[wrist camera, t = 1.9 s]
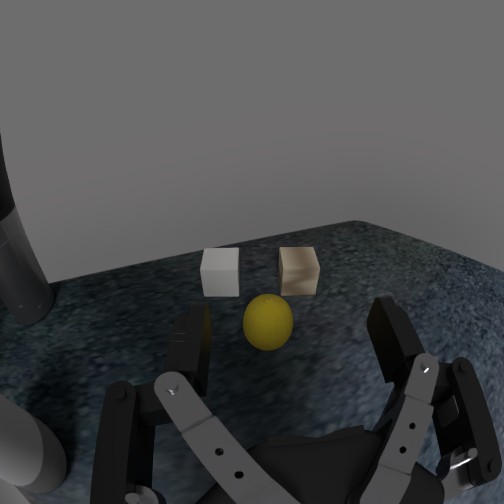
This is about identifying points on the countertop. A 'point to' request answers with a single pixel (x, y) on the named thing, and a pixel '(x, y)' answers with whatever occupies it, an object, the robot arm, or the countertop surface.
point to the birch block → (298, 271)
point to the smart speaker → (29, 451)
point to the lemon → (268, 322)
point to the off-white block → (220, 272)
